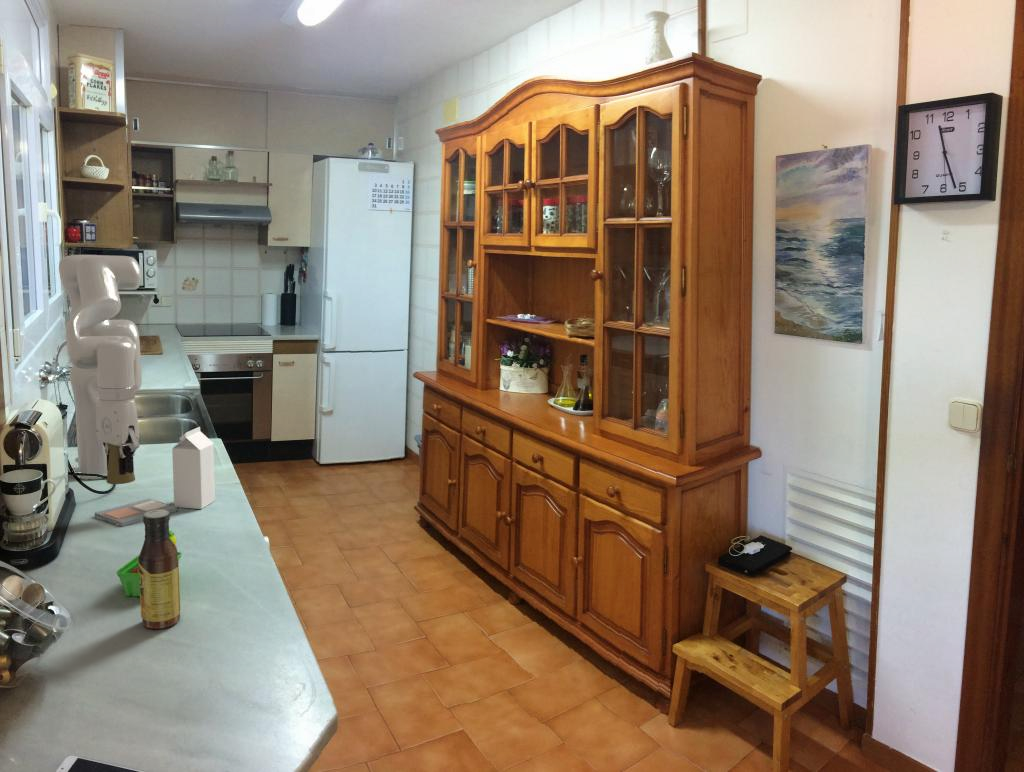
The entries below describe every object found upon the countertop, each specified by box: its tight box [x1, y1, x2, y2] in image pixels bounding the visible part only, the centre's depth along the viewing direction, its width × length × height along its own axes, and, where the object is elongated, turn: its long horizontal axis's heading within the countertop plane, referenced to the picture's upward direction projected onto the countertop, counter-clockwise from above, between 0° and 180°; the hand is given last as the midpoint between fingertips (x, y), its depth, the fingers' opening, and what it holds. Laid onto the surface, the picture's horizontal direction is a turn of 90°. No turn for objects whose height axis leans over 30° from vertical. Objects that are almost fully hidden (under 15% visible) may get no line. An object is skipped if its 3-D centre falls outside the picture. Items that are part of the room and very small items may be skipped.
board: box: [94, 498, 178, 527], centre depth 191 cm, size 11×14×1 cm
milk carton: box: [171, 426, 216, 510], centre depth 198 cm, size 7×7×19 cm
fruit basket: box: [116, 529, 182, 597], centre depth 151 cm, size 11×9×11 cm
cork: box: [106, 440, 136, 485], centre depth 185 cm, size 6×6×11 cm
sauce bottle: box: [138, 510, 182, 630], centre depth 136 cm, size 6×6×20 cm
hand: (120, 470), depth 186 cm, fingers closed on cork, 4 cm apart
